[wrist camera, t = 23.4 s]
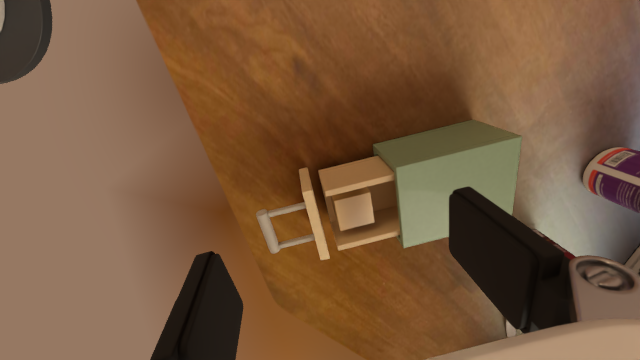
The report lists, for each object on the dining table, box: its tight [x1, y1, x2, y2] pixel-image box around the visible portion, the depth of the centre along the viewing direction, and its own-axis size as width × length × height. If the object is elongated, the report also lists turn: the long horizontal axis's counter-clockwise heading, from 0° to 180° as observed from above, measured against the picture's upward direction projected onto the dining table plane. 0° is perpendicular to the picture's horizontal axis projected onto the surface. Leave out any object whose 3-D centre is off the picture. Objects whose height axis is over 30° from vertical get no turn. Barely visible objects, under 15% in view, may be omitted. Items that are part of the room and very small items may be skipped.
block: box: [331, 187, 375, 231], centre depth 36 cm, size 5×5×5 cm
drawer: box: [256, 155, 400, 260], centre depth 36 cm, size 20×10×7 cm, turn 102°
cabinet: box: [373, 120, 522, 248], centre depth 36 cm, size 15×12×9 cm
